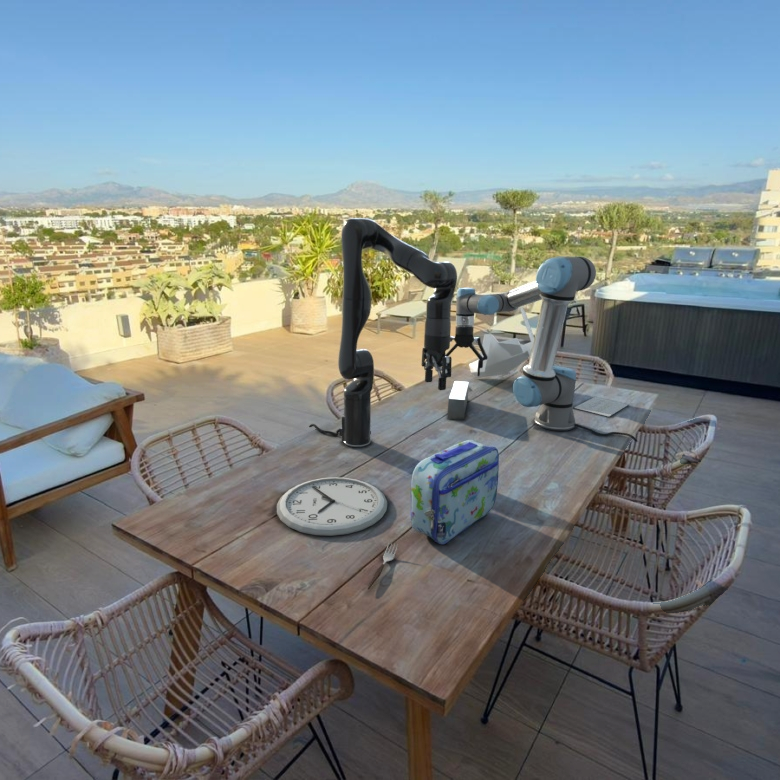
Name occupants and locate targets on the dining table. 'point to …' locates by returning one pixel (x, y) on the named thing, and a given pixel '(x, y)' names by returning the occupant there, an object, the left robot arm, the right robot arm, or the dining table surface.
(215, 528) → the dining table surface
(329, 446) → the dining table surface
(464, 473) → the lunch box
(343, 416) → the left robot arm
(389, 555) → the fork
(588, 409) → the invitation card
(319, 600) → the dining table surface
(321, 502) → the wall clock
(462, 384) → the box
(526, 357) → the white plastic object
